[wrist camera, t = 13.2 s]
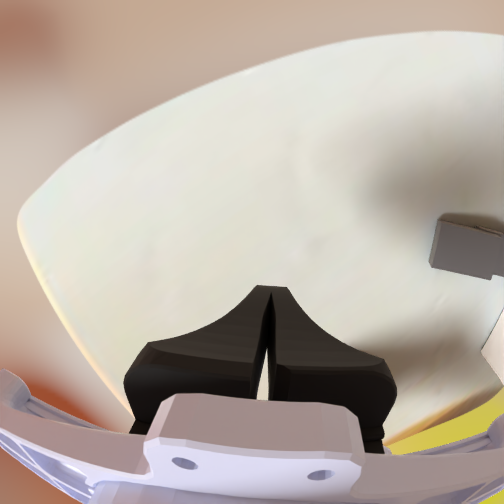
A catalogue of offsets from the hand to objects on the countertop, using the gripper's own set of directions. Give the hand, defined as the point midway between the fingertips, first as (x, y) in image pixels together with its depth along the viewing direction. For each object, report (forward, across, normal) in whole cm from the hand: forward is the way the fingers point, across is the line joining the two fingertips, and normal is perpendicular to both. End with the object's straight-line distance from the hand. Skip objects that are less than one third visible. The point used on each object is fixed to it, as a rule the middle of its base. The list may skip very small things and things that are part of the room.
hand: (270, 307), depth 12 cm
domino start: (+9, -13, -1) cm, 16 cm away
